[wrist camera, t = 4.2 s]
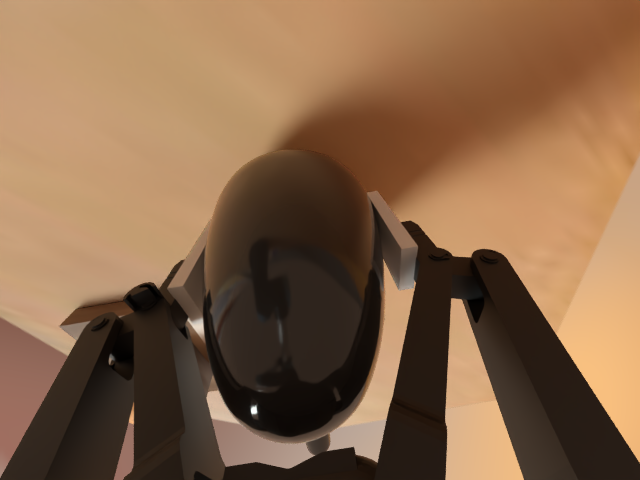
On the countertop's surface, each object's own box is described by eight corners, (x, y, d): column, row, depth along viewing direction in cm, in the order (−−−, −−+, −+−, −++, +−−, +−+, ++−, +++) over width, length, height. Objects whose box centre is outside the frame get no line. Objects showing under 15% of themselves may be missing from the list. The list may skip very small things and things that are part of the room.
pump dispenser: (253, 263, 22) (197, 502, 10) (210, 148, 16) (-86, 379, 4) (361, 246, 22) (446, 465, 9) (356, 125, 16) (562, 279, 4)
